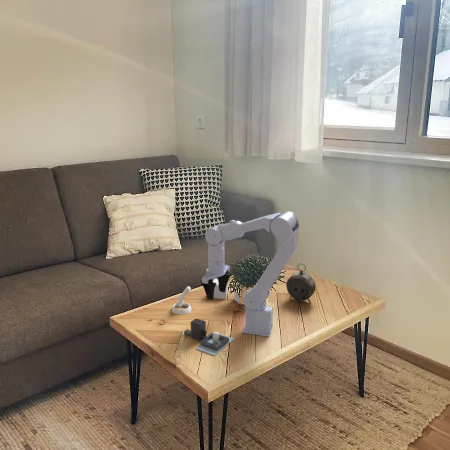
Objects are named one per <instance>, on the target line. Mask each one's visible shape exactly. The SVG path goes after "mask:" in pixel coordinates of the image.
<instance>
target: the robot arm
mask: <svg viewBox="0 0 450 450" xmlns="http://www.w3.org/2000/svg"><path fill="white" fill-rule="evenodd" d="M300 225H301V224H300V222H299V219H298V217H297V215H296V214H295V213H294V212H292V211H287V210H286V211H283V212H282V213H281V212H276V213H275V212H274V213H272V214H267V215H264V216H261V217H257V218H255V219H252V220H248V221H244V222H242V221H240V220H235V219H232V220H229V222H228V223H227V222H226V223H223V224H222V223H219V224H217V225H214V226H212V227H211V228H209V229H207V231H206V232H205V234H204V239H205V241H206V243H207V269H205V272H206V273H205V274H204V275H203V276H202V277H201V280H200V285H202V288H203V290H204V292H205V295H206V298H207V300H209V301H213V300H214V298H213V297H214V289H215V286H216V284H217V283H214V282H213V280H214V279H218V283H219V291H220V292H225V290H226V287H227V283H228V281H230V279H231V276H232V272H230V269H231V266H230V265H228V264H225V242H228V241H231V240H236V239H239V238H242V237H244V234H245V233H249V232H252V231H253V232H254V231H258V230H262V229H263V230H265V231H267V233H272V235H273V236H274V237H275V239H276V240H277V241H278V243H279V245H280V247H279V248H278V250H277V252H276V253H275V254H274V256H273V258H272V260H270V262H269V264H268V266H267V267H266V269H265V270H264V272H263V273H262V275H261V276H260V278H259V279H258V280H257V283H256V285H254V287H253V288H252V289H251V290H250V291H249V292H248V293H247V294H245V295H244V297H243V303H244V304H243V306H244V307H245V317H244V321H245V324H244V325H243V329H242V332H241V333H242V334H247V335H254V336H255V335H256V336H262V337H270V336H271V333H272V329H273V326H274V325H273V321H274V320H273V319H274V317H273V316H274V314H273V313H274V308H273V307H271V306H269V305H267V299H268V298H269V296H270V291H271V289H272V288H273V287H272V286H273V285H274V283H275V281H276V280H277V279H278V277H279V275H280V274H281V273H282V271H283V270H284V268H285V267H286V265H287V264H288V262H289V261H290V259H291V258H292V256H293V255H294V254H295V252H296V250H298V248H299V247H298V246H299V233H300V232H299V230H300Z"/></svg>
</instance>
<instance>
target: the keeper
mask: <svg viewBox="0 0 450 450" xmlns="http://www.w3.org/2000/svg"><path fill="white" fill-rule="evenodd" d="M212 333H213V338H212V339H210V340H209V341H208V342H209V343H212V344H215V345H217V344H218V343H220V342H221V341H222V340H219V335H222V336H225V337H228V338H229V342H227V343H226V344H225V345H224V346H222V347H221V348H220V349H219V350H214V349H211V348H208V347H205V346H202V345H200V344H199V346H197V347H196V348H195V349H196V350H197V351H201V352H202V353H206V354H208V355H211V356H216V355H217V354H218V353H220V352H221V351H222V350H224V348H226V347H227V346H229V344H231V343H232V342H233V341H235V338H234V337H230V336H227V335H224V334H221V333H219V331H213V332H212Z"/></svg>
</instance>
